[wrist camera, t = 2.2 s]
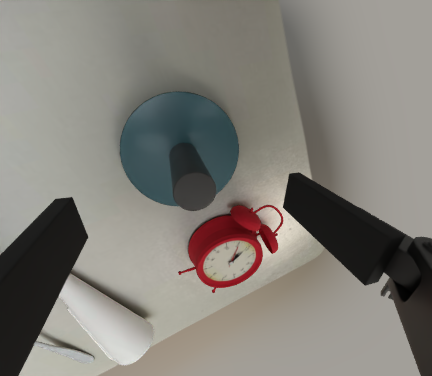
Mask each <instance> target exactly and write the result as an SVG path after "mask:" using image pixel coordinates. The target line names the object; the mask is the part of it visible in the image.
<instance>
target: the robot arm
mask: <svg viewBox="0 0 432 376" xmlns="http://www.w3.org/2000/svg"><path fill="white" fill-rule="evenodd" d="M283 208H284V209H285V210H286V211H287V212H288V213H289V214H290V215H291V216H292V217H293V218H294V219H296V220H297V221H298V222H299V223H300V224H301V225H302V226H303V227H304V228H305V229H306V230H307V231H308V232H309V233H310V234H311V235H312V236H313V237H314V238H315V239H317V240H318V241H319V242H320V243H321V244H322V245H323V246H324V247H325V248H326V249H327V250H328V251H329V252H330V253H331V254H332V255H334V257H335V258H337V259H338V260H339V261H340V262H341V263H342V264H343V265H344V266H345V267H346V268H347V269H348V270H349V271H350V272H351V273H352V274H353V275H354V276H355V277H357V278H358V279H359V280H360V281H361V282H362V283H363V284H364V285H369V284H372V283H375V282H378V281H379V279H380V277H381V276H382V274H383V273H386V274H387V275H388V276H389V277H390V278H389V279H388V281H387V283H386V284H385V286H384V287H383V289H382V290H381V296H385V294H386V292H387V291H390V292H391V294H390V295H389V297H388V298H390V299H393V300H394V303H395V306H396V308H397V311H398V314H399V317H400V320H401V322H402V325H403V328H404V331H405V333H406V336H407V339H408V341H409V344H410V347H411V350H412V353H413V355H414V358H415V361H416V364H417V366H418V369H419V372H420V374H421V376H432V239H431V238H426V237H416V238H415V239H413V238H411V237H409V236H408V235H406V234H404V233H403V232H401V231H399V230H397V229H396V228H394V227H392V226H391V225H389V224H387V223H385V222H384V221H382V220H379V218H377V217H375V216H373V215H371V214H370V213H368V212H366V211H365V210H363V209H361V208H359V207H357V206H355V205H353V204H352V203H350V202H348V201H346V200H345V199H343V198H341V197H339V196H338V195H336V194H335V193H333V192H331V191H329V190H328V189H326V188H324V187H323V186H321V185H319V184H317V183H316V182H314V181H313V180H311V179H309V178H307V177H306V176H304V175H302V174H301V173H291V174H289V179H288V184H287V189H286V194H285V199H284V204H283ZM87 239H88V235H87V233H86V230H85V228H84V225H83V223H82V220H81V218H80V215H79V213H78V210H77V208H76V205H75V203H74V200H73V198H72V197H70V198H60V199H55V200H54V201H53V202H52V203H51V204H50V205H49V206H48V207H47V208H46V209H45V210H44V211H43V212H42V213H41V214H40V215H39V216H38V217H37V218H36V219H35V220H34V221H33V222H32V223H31V224H30V225H29V226H28V227H27V228H26V229H25V230H24V231H23V233H22V234H21V235H20V236H19V237H18V238H17V239H16V240H15V241H14V242H13V243H12V244H11V245H10V246H9V247H8V248H7V249H6V250H5V251H4V252H3V253H2V254H1V255H0V376H18V375H19V373H20V371H21V369H22V367H23V365H24V363H25V361H26V360H27V358H28V356H29V354H30V352H31V350H32V348H33V346H34V344H35V342H36V340H37V338H38V336H39V334H40V332H41V330H42V328H43V326H44V324H45V322H46V320H47V318H48V316H49V314H50V312H51V310H52V308H53V306H54V304H55V302H56V300H57V298H58V296H59V294H60V292H61V290H62V288H63V286H64V284H65V282H66V280H67V278H68V276H69V274H70V272H71V270H72V268H73V266H74V264H75V262H76V260H77V258H78V256H79V254H80V252H81V250H82V249H83V247H84V245H85V243H86V241H87Z"/></svg>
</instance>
